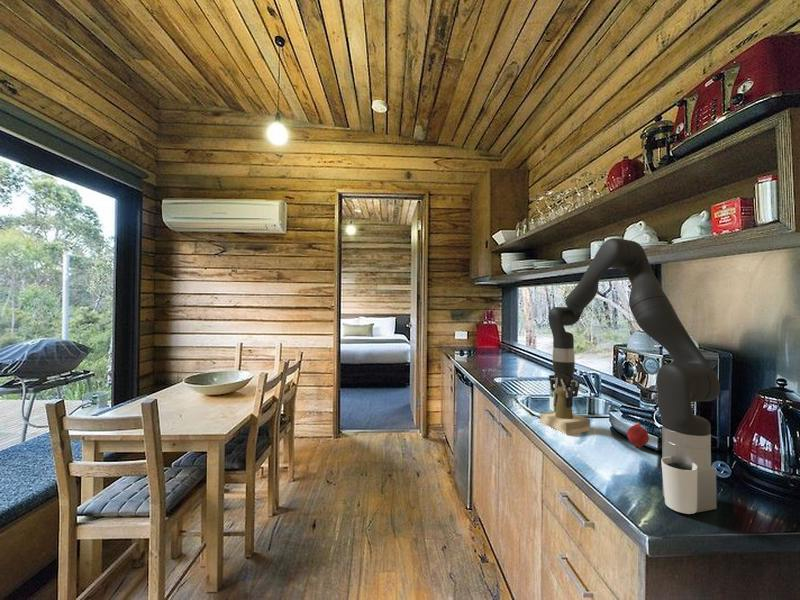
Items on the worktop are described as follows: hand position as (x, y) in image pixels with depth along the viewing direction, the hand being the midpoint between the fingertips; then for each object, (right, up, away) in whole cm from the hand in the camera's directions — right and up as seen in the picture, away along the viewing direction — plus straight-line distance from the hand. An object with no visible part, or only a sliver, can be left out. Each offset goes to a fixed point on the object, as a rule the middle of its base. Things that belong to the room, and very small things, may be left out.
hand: (563, 405), depth 132 cm
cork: (0, -4, 0) cm, 4 cm away
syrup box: (+6, -9, +17) cm, 20 cm away
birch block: (0, -9, 0) cm, 9 cm away
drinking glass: (+4, -8, -50) cm, 51 cm away
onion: (+16, -9, -17) cm, 25 cm away
